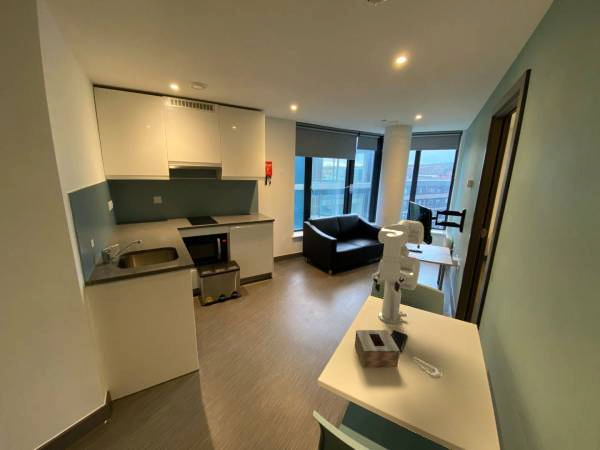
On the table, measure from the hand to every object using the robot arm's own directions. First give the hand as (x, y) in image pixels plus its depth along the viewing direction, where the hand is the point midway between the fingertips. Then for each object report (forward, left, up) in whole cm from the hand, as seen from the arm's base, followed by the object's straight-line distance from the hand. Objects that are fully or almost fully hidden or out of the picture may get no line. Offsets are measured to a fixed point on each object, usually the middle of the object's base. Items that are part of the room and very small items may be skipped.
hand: (386, 290), depth 121 cm
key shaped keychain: (-14, +19, -29) cm, 38 cm away
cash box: (+8, +12, -28) cm, 32 cm away
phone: (-8, +2, -29) cm, 30 cm away
